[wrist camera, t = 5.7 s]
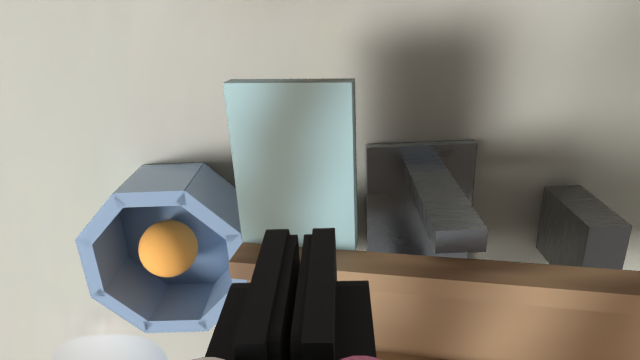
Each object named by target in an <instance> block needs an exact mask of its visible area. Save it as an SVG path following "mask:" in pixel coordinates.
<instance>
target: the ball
mask: <svg viewBox="0 0 640 360" xmlns="http://www.w3.org/2000/svg"><path fill="white" fill-rule="evenodd" d="M138 252H139V257H140V260H141V262H142V264H143V266H144V267H145V268H146V269H147V270H148V271H149V272H151V273H152V274H154V275H157V276H160V277H174V276H177V275H180V274H182V273H183V272H185V271H186V270H188V269H189V268H190V267H191V265H192V264H193V263H194V261H195V259H196V256H197V252H198V242H197V239H196V236H195V234H194V232H193V231H192V230H191V229H190V228H189V227H188V226H187V225H185V224H184V223H182V222H179V221H175V220H163V221H160V222H157V223H155V224H153V225H152V226H150V227H149V228H148V229H147V230H146V231H145V232H144V234H143V235H142V237H141V239H140V242H139V248H138Z"/></svg>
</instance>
